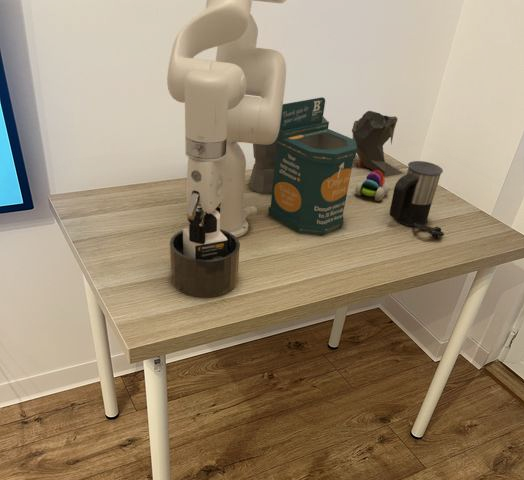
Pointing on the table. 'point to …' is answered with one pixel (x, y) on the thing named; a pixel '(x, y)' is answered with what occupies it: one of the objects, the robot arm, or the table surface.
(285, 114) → the donation box
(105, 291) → the table surface
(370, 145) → the grey walrus sculpture
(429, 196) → the milk frother
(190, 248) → the medicine bottle
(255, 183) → the coffeepot
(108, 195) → the table surface
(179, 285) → the bucket
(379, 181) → the rainbow caterpillar toy
